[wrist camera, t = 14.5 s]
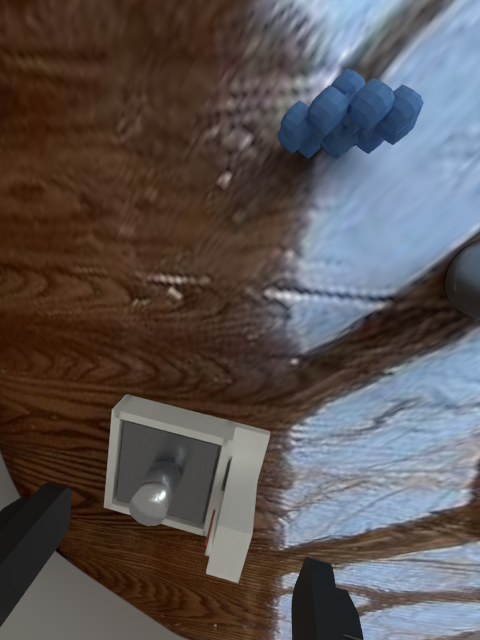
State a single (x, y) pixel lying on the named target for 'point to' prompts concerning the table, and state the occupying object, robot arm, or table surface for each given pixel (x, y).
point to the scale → (226, 485)
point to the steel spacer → (155, 493)
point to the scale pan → (177, 449)
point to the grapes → (350, 117)
